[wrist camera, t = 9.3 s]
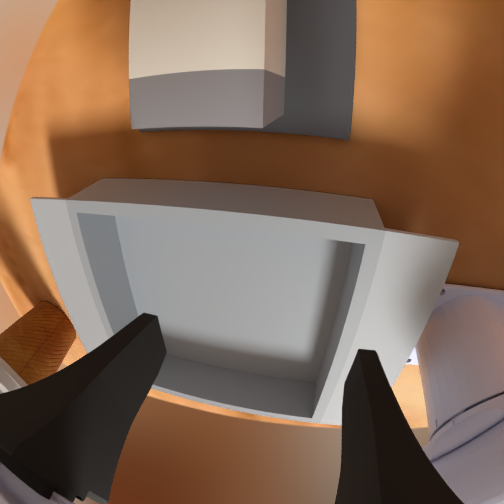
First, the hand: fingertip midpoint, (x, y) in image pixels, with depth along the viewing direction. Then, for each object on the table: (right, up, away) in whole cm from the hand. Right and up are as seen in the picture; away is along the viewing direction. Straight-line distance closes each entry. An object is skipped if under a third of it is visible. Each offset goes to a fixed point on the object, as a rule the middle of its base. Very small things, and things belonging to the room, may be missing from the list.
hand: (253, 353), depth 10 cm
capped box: (-1, +15, +2) cm, 15 cm away
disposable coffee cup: (-24, -5, +20) cm, 32 cm away
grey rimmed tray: (-2, 0, +12) cm, 12 cm away
